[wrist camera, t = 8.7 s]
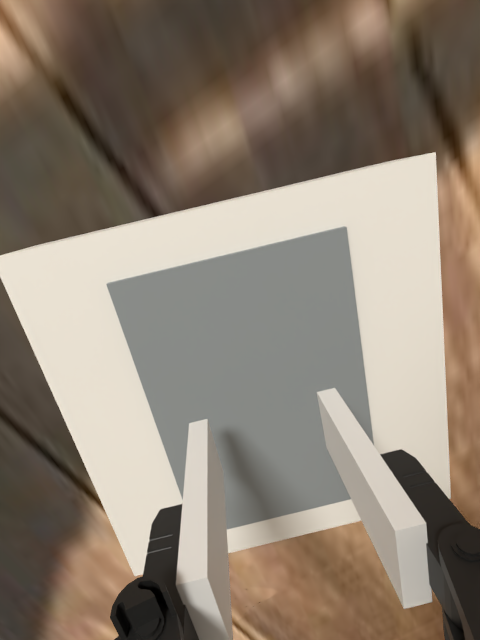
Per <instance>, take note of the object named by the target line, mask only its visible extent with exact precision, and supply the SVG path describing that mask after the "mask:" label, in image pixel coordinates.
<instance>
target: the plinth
mask: <svg viewBox="0 0 480 640" xmlns="http://www.w3.org/2000/svg"><path fill="white" fill-rule="evenodd" d="M0 277H1V279H2V282H3V284H4V286H5V288H6V291H7V293H8V295H9V297H10V299H11V302H12V304H13V306H14V308H15V311H16V313H17V315H18V317H19V320H20V322H21V324H22V326H23V328H24V331H25V333H26V335H27V337H28V340H29V342H30V344H31V346H32V349H33V351H34V353H35V355H36V357H37V360H38V362H39V364H40V366H41V369H42V371H43V373H44V375H45V377H46V380H47V382H48V384H49V386H50V389H51V391H52V393H53V395H54V398H55V400H56V402H57V404H58V406H59V409H60V411H61V413H62V415H63V418H64V420H65V422H66V424H67V426H68V429H69V431H70V433H71V435H72V438H73V440H74V442H75V444H76V447H77V449H78V451H79V453H80V455H81V458H82V460H83V462H84V464H85V467H86V469H87V471H88V473H89V475H90V478H91V480H92V482H93V484H94V487H95V489H96V491H97V493H98V496H99V498H100V500H101V502H102V504H103V507H104V509H105V511H106V513H107V516H108V518H109V520H110V522H111V525H112V527H113V529H114V531H115V533H116V536H117V538H118V540H119V542H120V545H121V547H122V549H123V551H124V553H125V556H126V558H127V560H128V562H129V565H130V567H131V569H132V571H133V574H134V576H137V575H142V574H143V572H144V566H145V560H146V555H147V549H148V543H149V537H150V531H151V525H152V523H153V521H154V519H155V517H156V516H157V514H158V512H159V510H160V509H163V508H167V507H171V506H176V505H180V504H182V503H183V491H184V479H185V467H186V455H187V443H188V431H189V423H192V422H196V421H200V420H204V419H208V422H209V426H210V429H211V432H212V436H213V439H214V442H215V446H216V449H217V453H218V456H219V459H220V463H221V466H222V469H223V474H224V492H225V509H226V527H227V544H228V553H231V552H235V551H239V550H244V549H248V548H252V547H256V546H260V545H264V544H268V543H272V542H276V541H280V540H284V539H288V538H293V537H297V536H301V535H305V534H309V533H313V532H317V531H321V530H325V529H329V528H333V527H337V526H341V525H346V524H350V523H354V522H358V521H362V520H361V518H360V516H359V514H358V512H357V510H356V508H355V506H354V504H353V502H352V499H351V497H350V495H349V493H348V491H347V489H346V487H345V485H344V483H343V481H342V479H341V477H340V474H339V472H338V470H337V468H336V466H335V464H334V462H333V460H332V458H331V456H330V454H329V451H328V449H327V447H326V442H325V436H324V431H323V425H322V419H321V414H320V408H319V402H318V397H317V392H320V391H324V390H328V389H332V388H335V389H336V390H337V392H338V393H339V395H340V396H341V398H342V399H343V400H344V402H345V403H346V405H347V406H348V408H349V409H350V411H351V412H352V414H353V415H354V417H355V418H356V420H357V421H358V423H359V424H360V426H361V427H362V429H363V430H364V432H365V433H366V435H367V436H368V438H369V439H370V441H371V442H372V443H373V445H374V446H375V448H376V449H377V451H378V452H379V454H384V453H388V452H392V451H396V450H400V449H402V450H404V451H405V452H407V453H409V454H410V455H412V456H413V457H415V458H416V459H417V460H418V461H419V462H420V464H421V465H422V466H423V467H424V469H425V470H426V472H427V473H428V474H429V475H430V476H431V477H432V479H433V480H434V482H435V483H436V484H437V485H438V486H439V487H440V489H441V490H442V491H443V492H444V494H445V495H446V496H447V497H448V498H449V499H451V490H450V467H449V444H448V422H447V399H446V376H445V354H444V331H443V308H442V286H441V263H440V240H439V218H438V195H437V172H436V152H434V153H429V154H424V155H419V156H414V157H409V158H403V159H398V160H393V161H388V162H384V163H380V164H376V165H372V166H367V167H363V168H359V169H355V170H351V171H346V172H342V173H338V174H334V175H330V176H325V177H321V178H317V179H313V180H309V181H304V182H300V183H296V184H292V185H288V186H283V187H279V188H275V189H271V190H267V191H262V192H258V193H254V194H250V195H246V196H241V197H237V198H233V199H229V200H225V201H220V202H216V203H212V204H208V205H204V206H200V207H195V208H191V209H187V210H183V211H179V212H174V213H170V214H166V215H162V216H158V217H153V218H149V219H145V220H141V221H137V222H132V223H128V224H124V225H120V226H116V227H111V228H107V229H103V230H99V231H95V232H90V233H86V234H82V235H78V236H74V237H69V238H65V239H61V240H57V241H53V242H48V243H44V244H40V245H36V246H32V247H29V248H25V249H22V250H18V251H15V252H11V253H8V254H4V255H1V256H0Z"/></svg>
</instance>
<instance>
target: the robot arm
mask: <svg viewBox="0 0 480 640" xmlns="http://www.w3.org/2000/svg"><path fill="white" fill-rule="evenodd" d="M317 397H318V402H319V408H320V414H321V419H322V425H323V431H324V436H325V442H326V447H327V449H328V451H329V454H330V456H331V458H332V460H333V462H334V464H335V466H336V468H337V470H338V472H339V474H340V477H341V479H342V481H343V483H344V485H345V487H346V489H347V491H348V493H349V495H350V497H351V499H352V502H353V504H354V506H355V508H356V510H357V512H358V514H359V516H360V518H361V520H362V522H363V525H364V527H365V529H366V531H367V533H368V535H369V537H370V539H371V541H372V543H373V545H374V548H375V550H376V552H377V554H378V556H379V558H380V560H381V562H382V564H383V566H384V568H385V571H386V573H387V575H388V577H389V579H390V581H391V583H392V585H393V587H394V589H395V591H396V594H397V596H398V598H399V600H400V602H401V604H402V606H403V608H404V609H406V608H410V607H414V606H419V605H423V604H427V603H431V602H432V590H433V592H434V593H435V595H436V597H437V598H438V600H439V602H440V604H441V605H442V612H443V627H444V636H445V640H480V529H478V528H475V527H473V526H471V525H470V524H469V523H468V522H467V521H466V520H465V518H464V517H463V516H462V515H461V513H460V512H459V511H458V510H457V508H456V507H455V506H454V505H453V503H452V502H451V501H450V500H449V498H448V497H447V496H446V495H445V494H444V492H443V491H442V490H441V489H440V487H439V486H438V485H437V484H436V483H435V482H434V480H433V479H432V477H431V476H430V475H429V474H428V473H427V472H426V470H425V469H424V467H423V466H422V465H421V464H420V462H419V461H418V460H417V459H416V458H415V457H413V456H412V455H410V454H409V453H407V452H405V451H404V450H402V449H400V450H396V451H392V452H388V453H384V454H379V452H378V451H377V449H376V448H375V446H374V445H373V443H372V442H371V441H370V439H369V438H368V436H367V435H366V433H365V432H364V430H363V429H362V427H361V426H360V424H359V423H358V421H357V420H356V418H355V417H354V415H353V414H352V412H351V411H350V409H349V408H348V406H347V405H346V403H345V402H344V400H343V399H342V398H341V396H340V395H339V393H338V392H337V390H336V389H335V388H332V389H328V390H324V391H320V392H317ZM431 588H432V590H431ZM110 618H111V620H112V622H113V624H114V626H115V628H116V630H117V632H118V634H119V636H118V637H117V638H116V639H114V640H233V631H232V614H231V596H230V579H229V562H228V544H227V527H226V509H225V492H224V474H223V469H222V466H221V463H220V459H219V456H218V453H217V449H216V446H215V442H214V439H213V436H212V432H211V429H210V426H209V422H208V419H204V420H200V421H196V422H192V423H189V431H188V443H187V455H186V467H185V479H184V491H183V503H182V504H180V505H176V506H171V507H167V508H163V509H160V510H159V512H158V514H157V516H156V517H155V519H154V521H153V523H152V525H151V531H150V537H149V543H148V549H147V555H146V560H145V566H144V572H143V577H140V578H137V579H136V580H134V581H132V582H131V583H129V584H128V585H127V586H126V587H125V588H124V589H123V590H122V591H121V592H120V593H119V595H118V596H117V598H116V600H115V602H114V604H113V606H112V611H111V616H110Z"/></svg>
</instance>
